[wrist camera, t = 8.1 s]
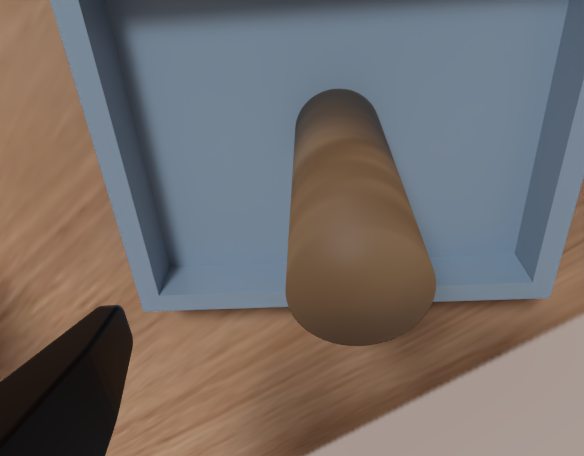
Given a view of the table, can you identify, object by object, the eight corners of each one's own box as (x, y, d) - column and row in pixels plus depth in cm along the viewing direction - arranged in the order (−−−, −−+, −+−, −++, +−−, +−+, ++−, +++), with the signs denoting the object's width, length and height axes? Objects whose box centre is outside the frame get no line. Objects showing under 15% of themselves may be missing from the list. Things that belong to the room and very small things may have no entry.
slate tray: (610, -106, 14) (664, -112, 12) (525, 260, 21) (549, 297, 19) (70, -64, 15) (31, -62, 13) (159, 273, 22) (143, 311, 20)
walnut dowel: (380, 86, 17) (443, 225, 9) (378, 166, 18) (429, 343, 10) (292, 91, 17) (280, 231, 9) (297, 170, 18) (290, 347, 11)
